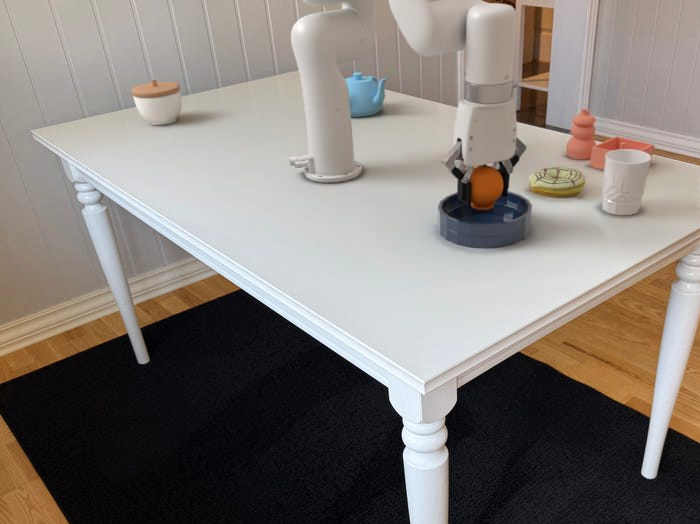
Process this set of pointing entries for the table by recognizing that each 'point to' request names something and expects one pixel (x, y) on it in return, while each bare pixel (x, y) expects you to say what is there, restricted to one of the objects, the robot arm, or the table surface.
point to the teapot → (365, 95)
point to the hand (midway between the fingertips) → (482, 197)
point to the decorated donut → (557, 182)
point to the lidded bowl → (158, 101)
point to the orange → (485, 187)
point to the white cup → (624, 180)
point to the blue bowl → (485, 221)
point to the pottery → (587, 148)
